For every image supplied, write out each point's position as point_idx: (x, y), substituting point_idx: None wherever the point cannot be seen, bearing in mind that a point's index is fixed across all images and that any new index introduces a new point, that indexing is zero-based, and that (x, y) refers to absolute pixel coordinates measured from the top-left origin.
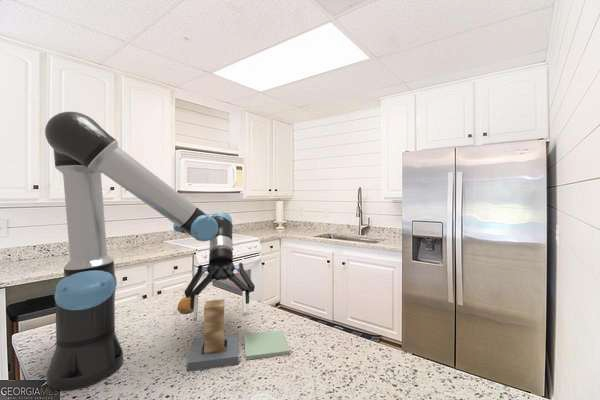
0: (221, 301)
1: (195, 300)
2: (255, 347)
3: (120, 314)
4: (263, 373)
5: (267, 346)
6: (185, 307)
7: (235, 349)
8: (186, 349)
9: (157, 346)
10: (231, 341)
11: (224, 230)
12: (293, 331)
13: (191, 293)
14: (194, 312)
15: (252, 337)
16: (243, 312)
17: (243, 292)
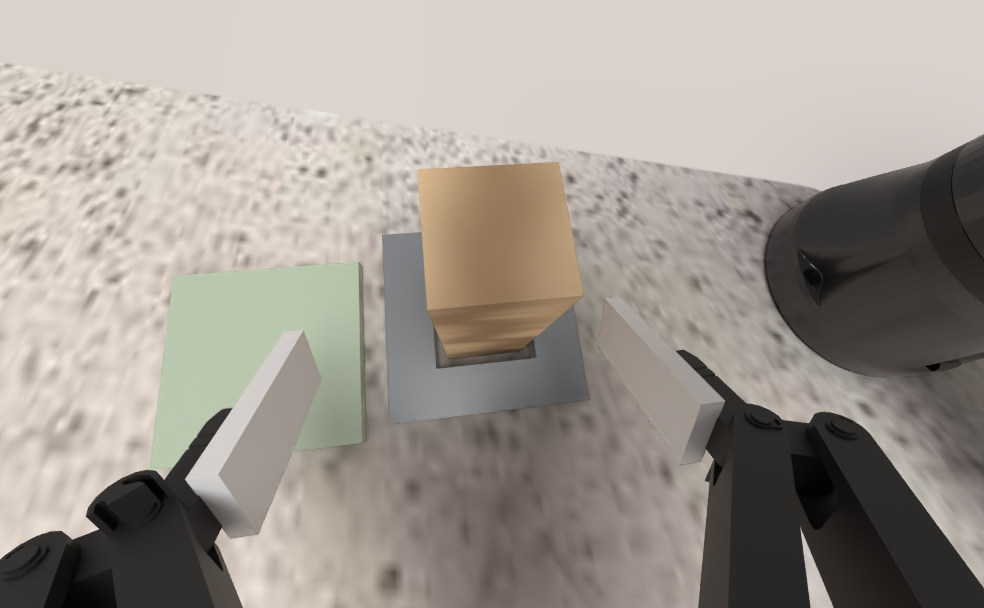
0: (446, 265)
1: (681, 367)
2: (315, 317)
3: None
4: (307, 190)
5: (262, 318)
6: None
7: (394, 282)
8: (596, 368)
9: None
10: (415, 348)
11: None
12: (98, 484)
13: (773, 418)
14: (630, 313)
15: (321, 407)
16: (304, 337)
17: (217, 458)
